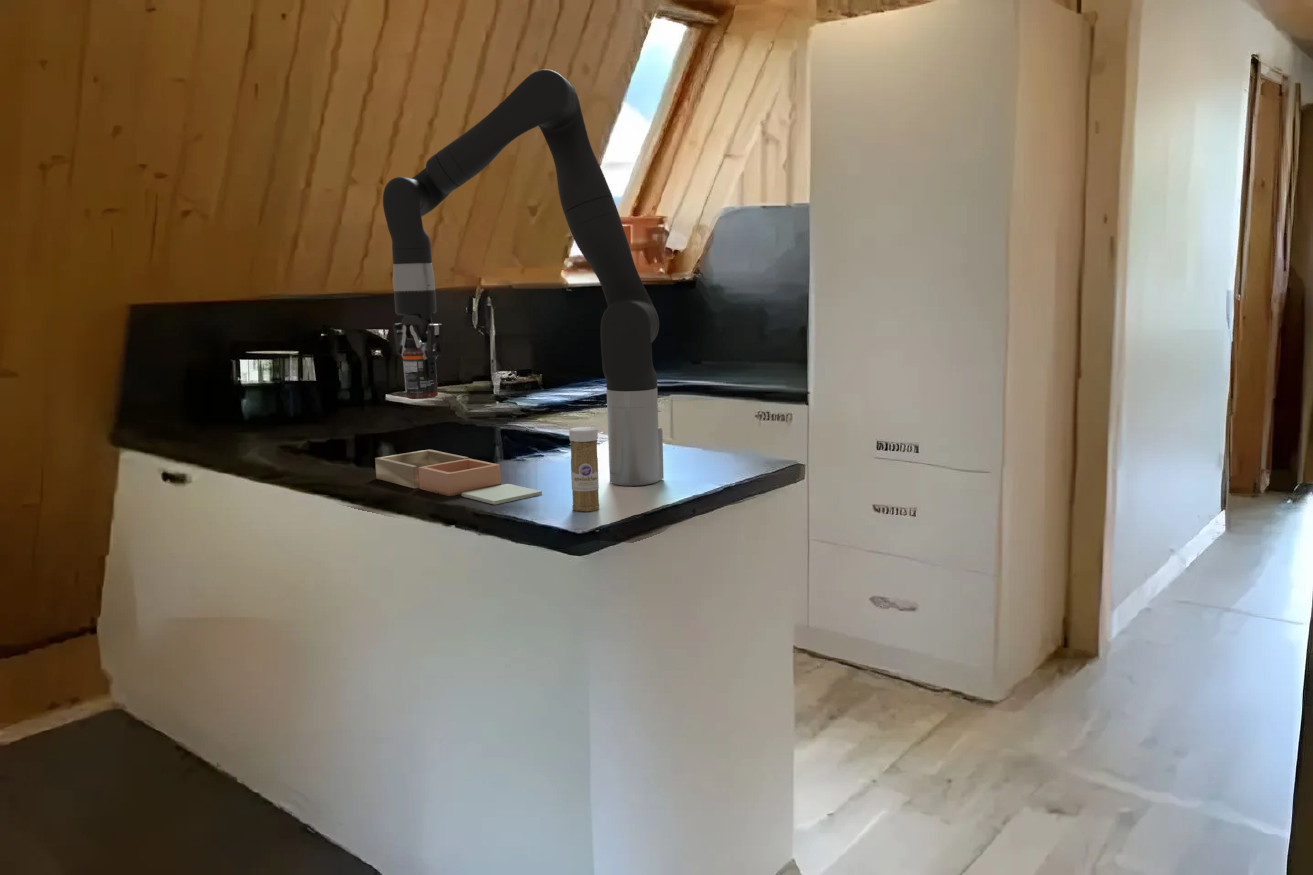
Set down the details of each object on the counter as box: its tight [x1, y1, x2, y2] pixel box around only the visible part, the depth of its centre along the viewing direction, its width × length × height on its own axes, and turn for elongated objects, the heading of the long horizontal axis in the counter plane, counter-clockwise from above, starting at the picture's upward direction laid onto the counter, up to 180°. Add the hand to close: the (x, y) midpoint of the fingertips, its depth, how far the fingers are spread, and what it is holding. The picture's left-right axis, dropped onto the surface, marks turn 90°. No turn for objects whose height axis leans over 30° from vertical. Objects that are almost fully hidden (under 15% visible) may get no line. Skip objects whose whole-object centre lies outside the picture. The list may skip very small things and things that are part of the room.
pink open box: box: [418, 458, 502, 497], centre depth 186 cm, size 11×10×4 cm
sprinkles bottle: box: [568, 426, 600, 513], centre depth 166 cm, size 5×5×14 cm
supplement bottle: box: [402, 338, 439, 400], centre depth 191 cm, size 6×6×11 cm
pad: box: [460, 483, 543, 505], centre depth 179 cm, size 10×10×1 cm
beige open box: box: [374, 449, 469, 489], centre depth 195 cm, size 12×14×4 cm
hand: (420, 378), depth 192 cm, fingers closed on supplement bottle, 6 cm apart
